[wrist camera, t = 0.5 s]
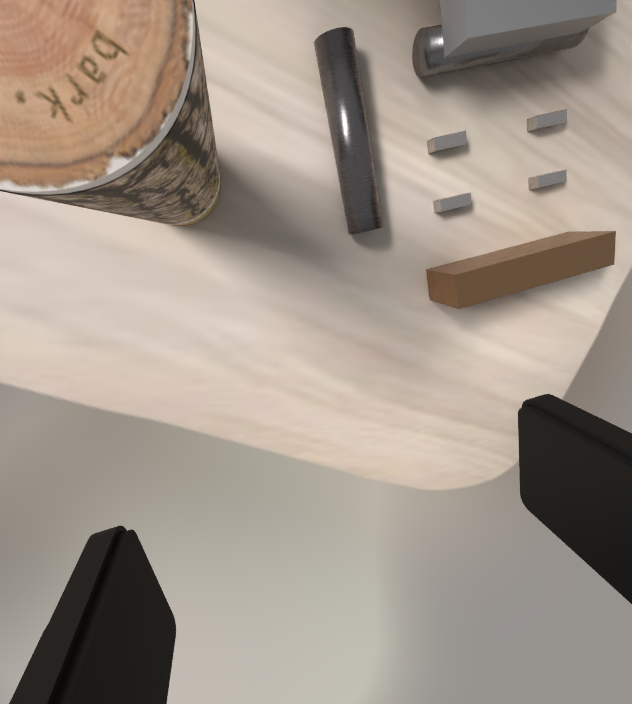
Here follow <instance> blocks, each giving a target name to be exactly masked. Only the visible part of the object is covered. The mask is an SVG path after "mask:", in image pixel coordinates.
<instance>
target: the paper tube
mask: <svg viewBox="0 0 632 704" xmlns="http://www.w3.org/2000/svg"><path fill="white" fill-rule="evenodd" d="M220 187H221V181H220V171H219V164H218V157H217V150H216V144H215V137H214V130H213V123H212V117H211V110H210V103H209V96H208V90H207V83H206V76H205V69H204V63H203V56H202V49H201V42H200V36H199V29H198V22H197V15H196V8H195V2H194V0H0V191H3V192H8V193H13V194H18V195H23V196H28V197H33V198H38V199H43V200H48V201H53V202H58V203H63V204H68V205H73V206H78V207H83V208H88V209H94V210H99V211H104V212H109V213H114V214H119V215H124V216H129V217H134V218H139V219H144V220H149V221H154V222H159V223H164V224H165V223H166V224H171V225H189V224H193V223H196V222H198V221H200V220H202V219H203V218H205V217H206V216H207V215H208V214H209V213H210V212H211V211H212V210H213V208H214V207H215V205H216V203H217V201H218V198H219V194H220Z"/></svg>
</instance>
